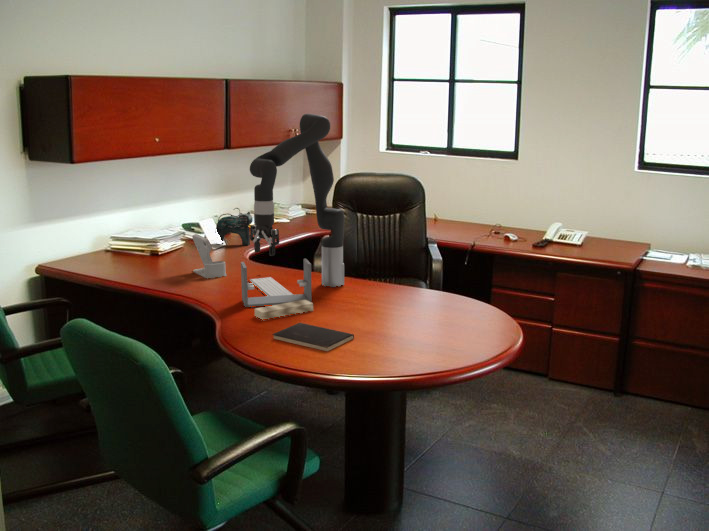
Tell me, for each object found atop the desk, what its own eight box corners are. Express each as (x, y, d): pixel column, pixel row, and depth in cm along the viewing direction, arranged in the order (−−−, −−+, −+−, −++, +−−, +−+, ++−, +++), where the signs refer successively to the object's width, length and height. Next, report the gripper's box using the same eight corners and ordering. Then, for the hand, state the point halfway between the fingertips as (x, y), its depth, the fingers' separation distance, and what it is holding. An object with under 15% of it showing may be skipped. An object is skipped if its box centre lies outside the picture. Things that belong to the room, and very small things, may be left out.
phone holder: (228, 276, 348) (226, 237, 344) (207, 279, 343) (205, 239, 339) (212, 268, 362) (210, 230, 358) (192, 271, 357) (190, 233, 353)
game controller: (253, 244, 415) (252, 207, 411) (249, 246, 409) (248, 209, 404) (218, 242, 419) (217, 206, 414) (214, 245, 413) (212, 208, 408)
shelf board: (305, 308, 302) (305, 299, 301) (313, 311, 297) (313, 303, 296) (254, 317, 290) (254, 308, 289) (262, 321, 285) (262, 312, 284)
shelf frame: (306, 296, 316) (306, 258, 312) (311, 303, 306) (311, 264, 303) (242, 300, 310) (240, 262, 306) (244, 307, 300) (243, 267, 296)
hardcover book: (327, 353, 253) (327, 346, 252) (272, 340, 265) (272, 333, 264) (354, 340, 266) (354, 333, 265) (300, 328, 278) (300, 322, 277)
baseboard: (265, 301, 312) (293, 298, 316) (265, 294, 311) (293, 291, 316) (244, 282, 339) (270, 280, 344) (244, 276, 339) (270, 273, 343)
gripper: (244, 211, 295) (245, 252, 298) (268, 215, 285) (269, 258, 289) (259, 209, 300) (260, 249, 304) (284, 213, 291) (284, 255, 294)
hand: (264, 254), depth 296 cm, fingers open, 8 cm apart
